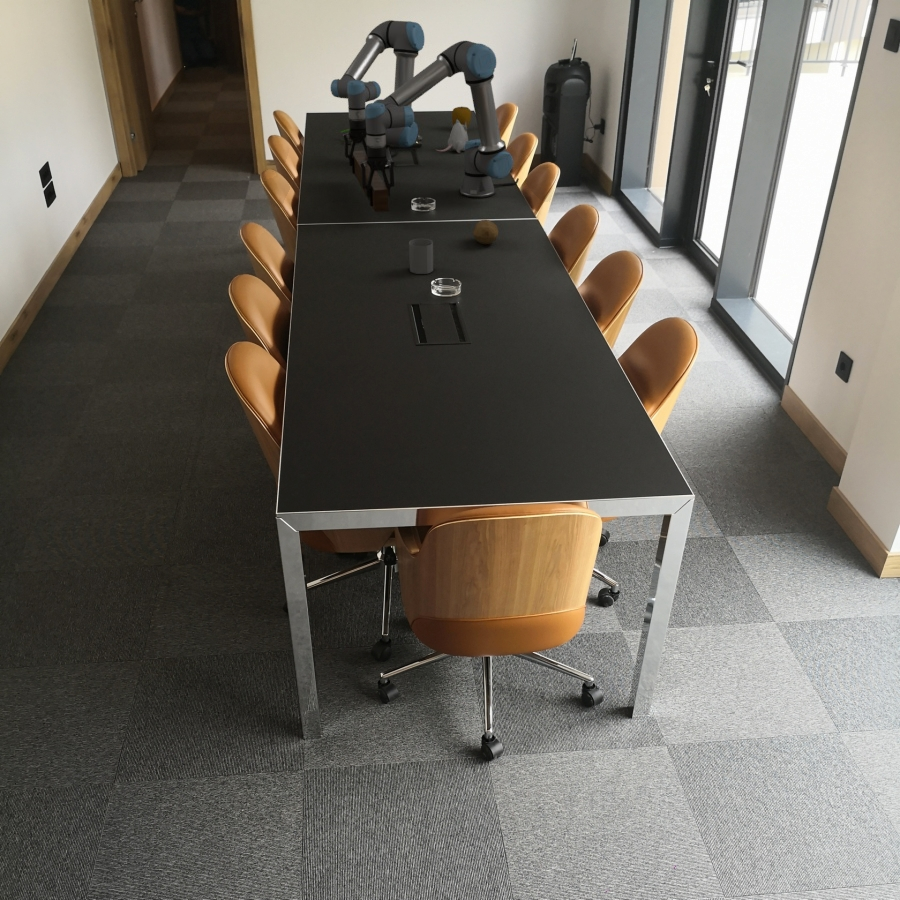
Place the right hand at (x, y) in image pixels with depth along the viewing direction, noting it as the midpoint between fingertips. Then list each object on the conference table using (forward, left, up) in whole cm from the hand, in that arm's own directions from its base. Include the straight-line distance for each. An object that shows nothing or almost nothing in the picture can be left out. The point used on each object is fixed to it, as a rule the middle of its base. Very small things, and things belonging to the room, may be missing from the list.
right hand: (378, 204), depth 351 cm
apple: (-153, -62, -7) cm, 165 cm away
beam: (-17, -19, -1) cm, 25 cm away
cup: (+35, +47, -7) cm, 59 cm away
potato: (-2, +50, -7) cm, 51 cm away
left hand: (-34, -37, 0) cm, 50 cm away
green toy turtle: (-102, -89, -7) cm, 135 cm away
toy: (-108, -38, -7) cm, 114 cm away
